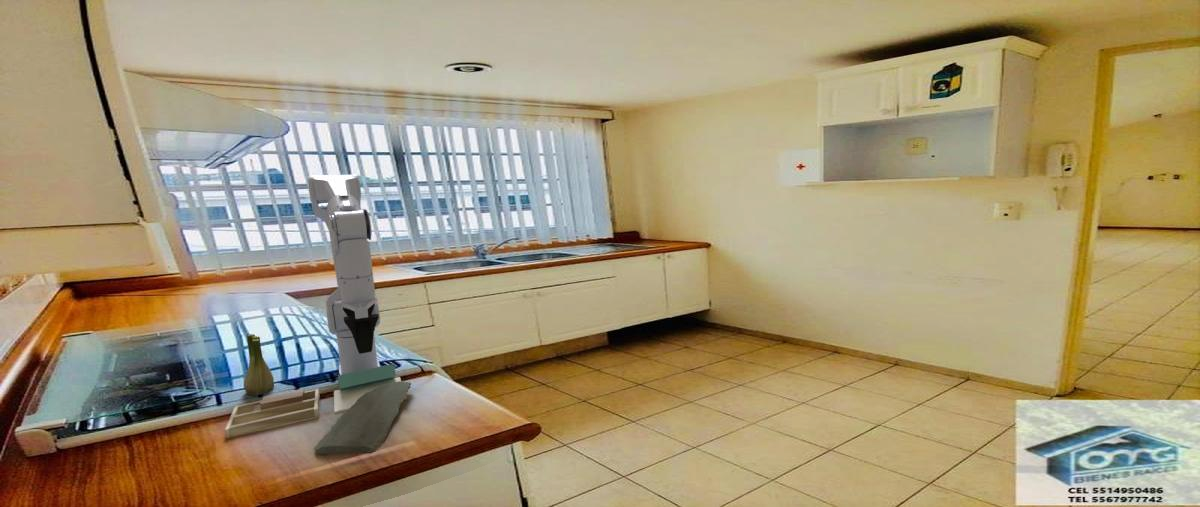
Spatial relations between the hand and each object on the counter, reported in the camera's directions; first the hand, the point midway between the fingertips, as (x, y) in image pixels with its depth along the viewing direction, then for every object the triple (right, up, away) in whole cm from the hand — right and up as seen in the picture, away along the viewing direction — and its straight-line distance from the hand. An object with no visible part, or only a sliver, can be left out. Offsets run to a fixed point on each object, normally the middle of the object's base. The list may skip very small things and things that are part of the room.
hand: (364, 346), depth 91 cm
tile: (0, -10, +2) cm, 10 cm away
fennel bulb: (-23, -11, +5) cm, 26 cm away
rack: (-13, -12, -5) cm, 18 cm away
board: (-1, -6, +3) cm, 7 cm away
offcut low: (-14, -11, -4) cm, 18 cm away
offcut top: (-13, -10, -3) cm, 17 cm away
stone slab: (+5, -11, -8) cm, 14 cm away
